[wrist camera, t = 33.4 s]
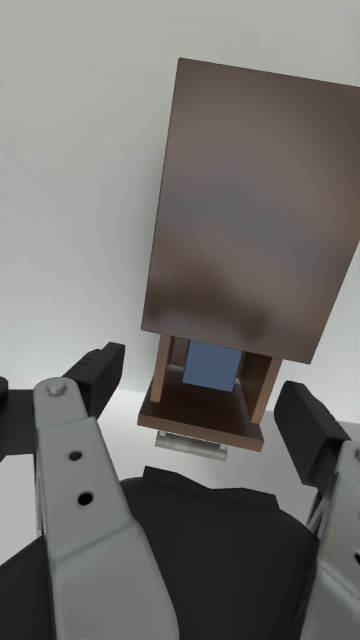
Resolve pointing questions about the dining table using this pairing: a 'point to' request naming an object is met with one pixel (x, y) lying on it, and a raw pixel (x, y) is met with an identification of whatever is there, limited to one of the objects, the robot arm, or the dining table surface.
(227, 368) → the block
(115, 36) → the dining table surface
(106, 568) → the robot arm
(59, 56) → the dining table surface
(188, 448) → the drawer
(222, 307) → the cabinet
